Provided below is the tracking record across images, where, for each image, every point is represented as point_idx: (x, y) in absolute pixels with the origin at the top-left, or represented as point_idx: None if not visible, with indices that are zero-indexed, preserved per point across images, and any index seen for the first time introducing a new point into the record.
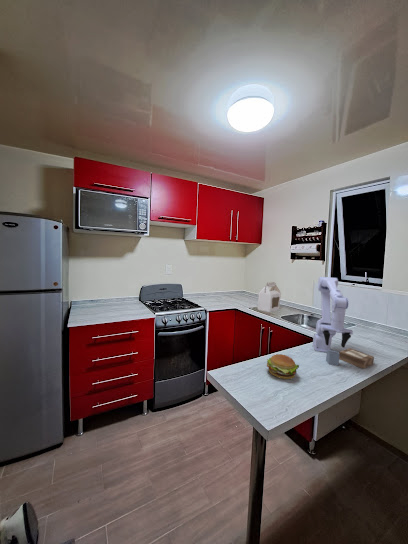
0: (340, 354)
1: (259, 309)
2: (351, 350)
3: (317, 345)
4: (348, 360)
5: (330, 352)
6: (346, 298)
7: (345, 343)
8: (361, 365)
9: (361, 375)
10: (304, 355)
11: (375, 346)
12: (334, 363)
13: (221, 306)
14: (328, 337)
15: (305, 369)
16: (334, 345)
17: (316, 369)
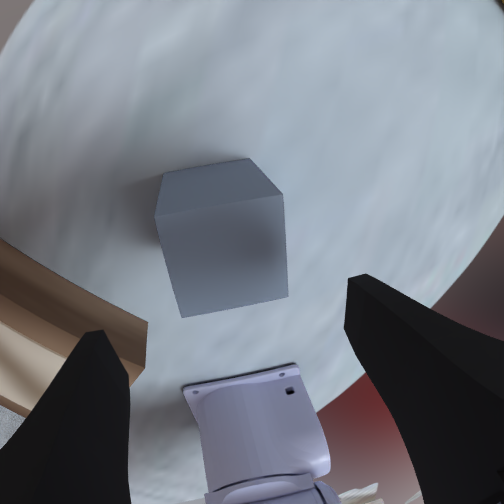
0: (134, 348)
1: (378, 500)
2: None
3: (296, 401)
4: (75, 299)
5: (267, 233)
6: None
7: (52, 387)
8: None
9: (8, 88)
10: (400, 244)
11: None
12: (200, 170)
13: None
14: (477, 359)
15: (437, 7)
16: (169, 459)
17: (374, 16)
